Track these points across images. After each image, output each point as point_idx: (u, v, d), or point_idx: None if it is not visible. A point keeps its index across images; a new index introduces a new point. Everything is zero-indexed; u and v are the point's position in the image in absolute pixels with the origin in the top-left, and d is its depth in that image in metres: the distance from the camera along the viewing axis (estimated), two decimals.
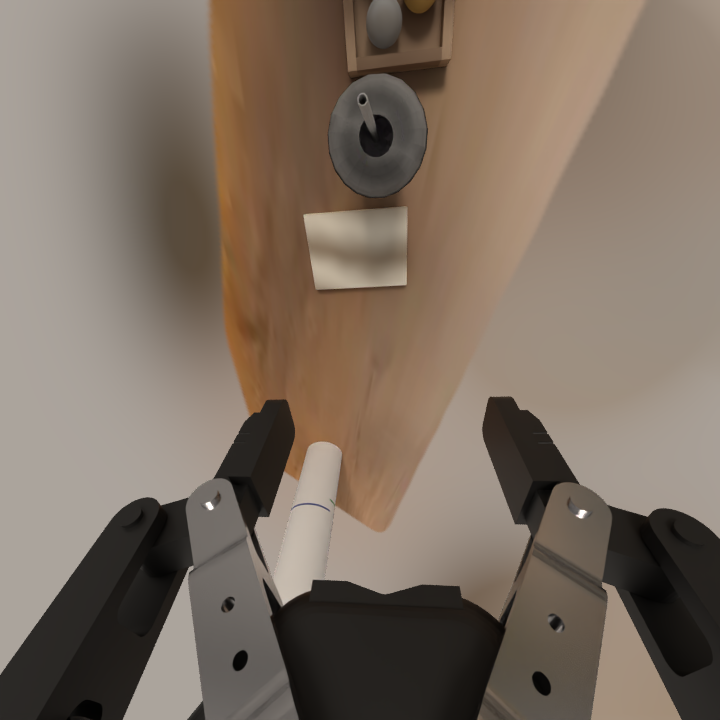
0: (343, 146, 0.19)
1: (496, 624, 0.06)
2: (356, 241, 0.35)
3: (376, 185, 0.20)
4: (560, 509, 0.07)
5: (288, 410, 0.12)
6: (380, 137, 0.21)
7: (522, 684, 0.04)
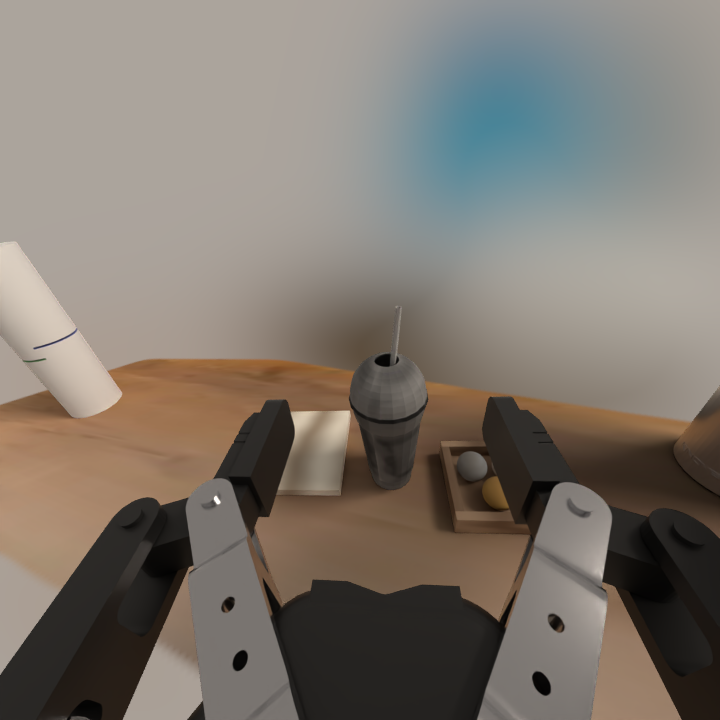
0: None
1: (496, 624, 0.06)
2: (318, 444, 0.36)
3: (357, 371, 0.26)
4: (560, 509, 0.07)
5: (288, 410, 0.12)
6: None
7: (522, 684, 0.04)
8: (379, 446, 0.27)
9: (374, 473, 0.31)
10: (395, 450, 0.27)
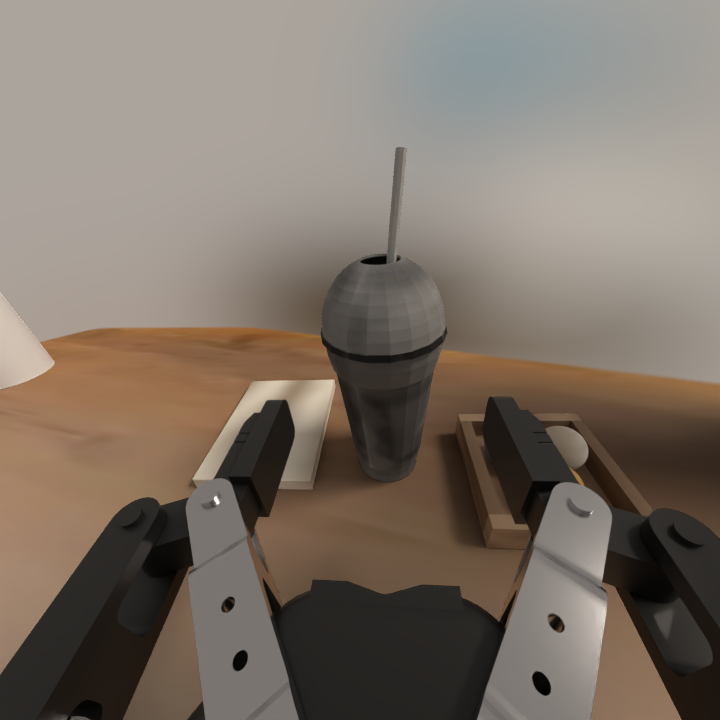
0: None
1: (496, 624, 0.06)
2: None
3: (332, 284, 0.16)
4: (560, 509, 0.07)
5: (288, 410, 0.12)
6: None
7: (522, 684, 0.04)
8: (368, 410, 0.17)
9: (362, 457, 0.21)
10: (393, 416, 0.17)
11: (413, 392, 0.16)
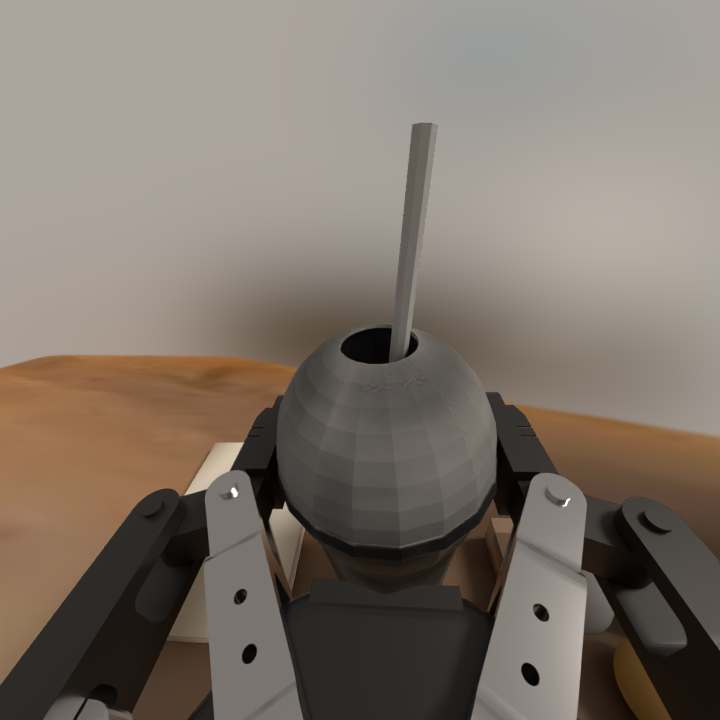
0: None
1: (484, 619, 0.06)
2: None
3: (294, 377, 0.09)
4: (539, 500, 0.07)
5: None
6: None
7: (512, 677, 0.04)
8: (360, 582, 0.10)
9: None
10: None
11: (438, 563, 0.09)
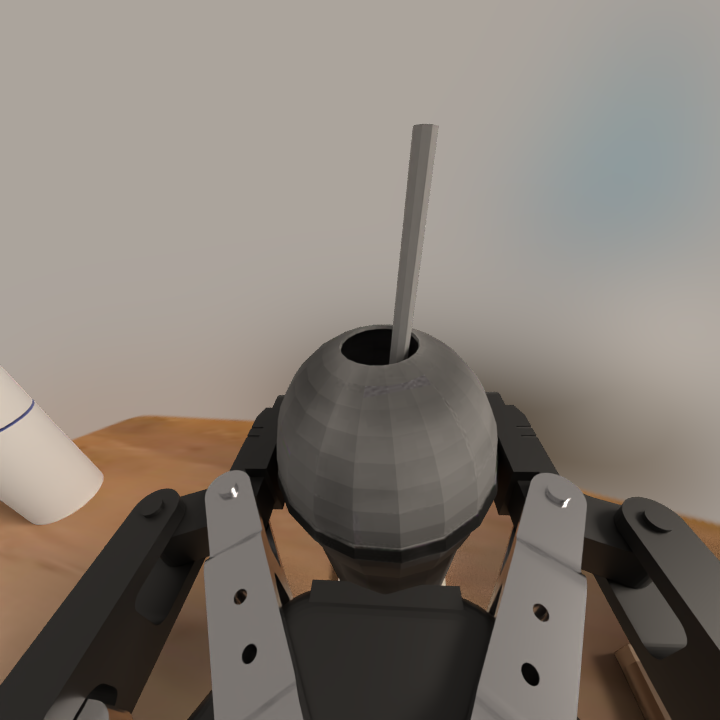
0: None
1: (484, 619, 0.06)
2: None
3: (294, 378, 0.09)
4: (539, 499, 0.07)
5: None
6: None
7: (512, 677, 0.04)
8: (361, 583, 0.10)
9: None
10: None
11: (439, 565, 0.09)
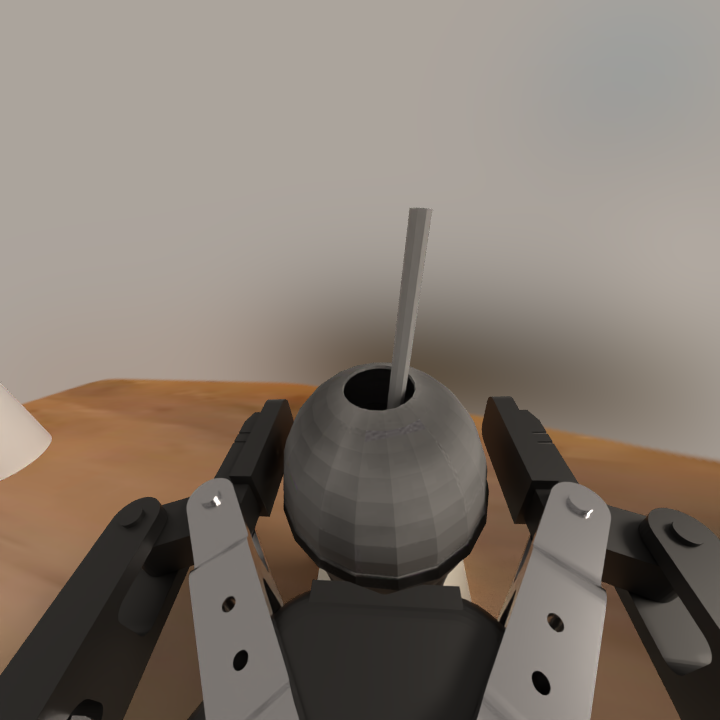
0: None
1: (495, 624, 0.06)
2: None
3: (299, 414, 0.10)
4: (559, 509, 0.07)
5: (288, 410, 0.12)
6: None
7: (522, 684, 0.04)
8: None
9: None
10: None
11: None
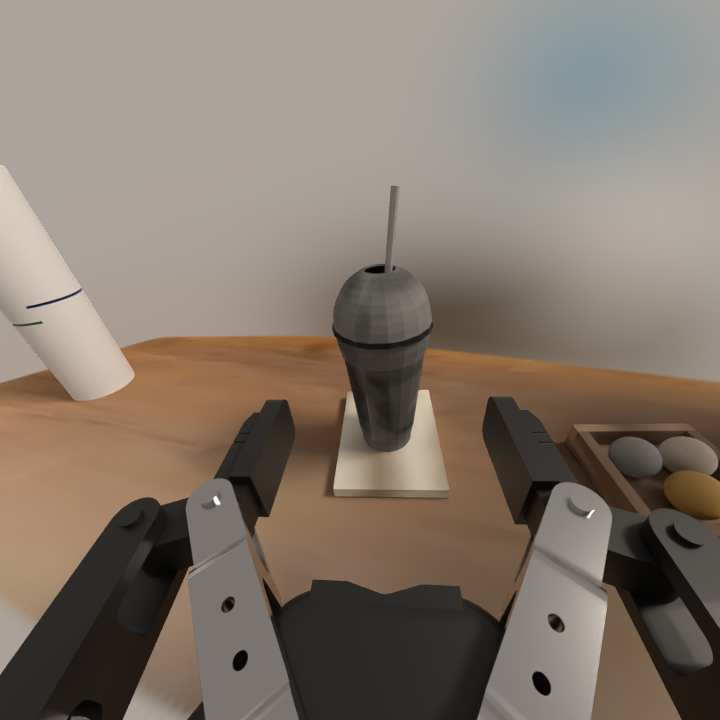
0: None
1: (496, 624, 0.05)
2: None
3: (342, 288, 0.20)
4: (560, 509, 0.07)
5: (288, 410, 0.12)
6: None
7: (522, 684, 0.04)
8: (371, 389, 0.21)
9: (366, 431, 0.25)
10: (391, 393, 0.21)
11: (407, 373, 0.20)
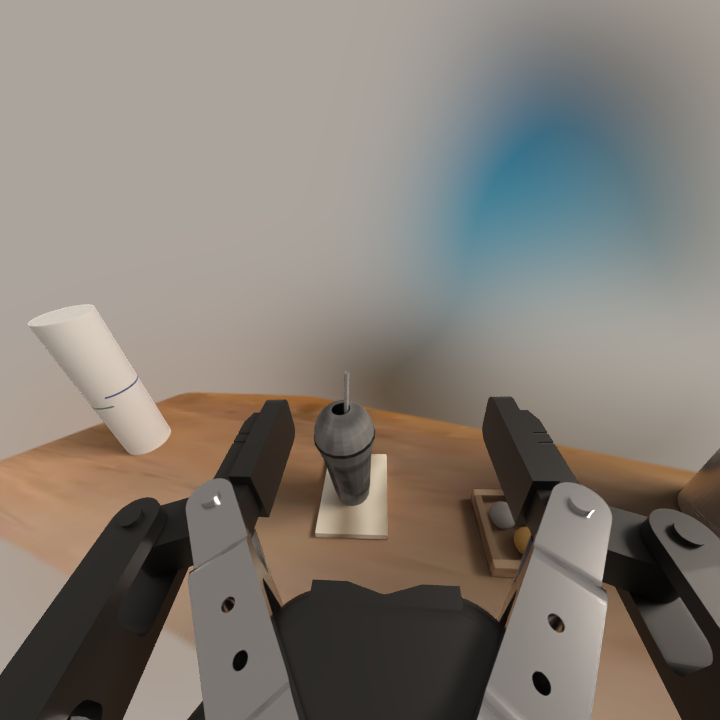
0: (341, 400, 0.34)
1: (496, 624, 0.06)
2: None
3: (319, 416, 0.33)
4: (560, 509, 0.07)
5: (288, 410, 0.12)
6: None
7: (522, 684, 0.04)
8: (338, 474, 0.34)
9: (337, 493, 0.38)
10: (350, 476, 0.34)
11: (358, 466, 0.34)
